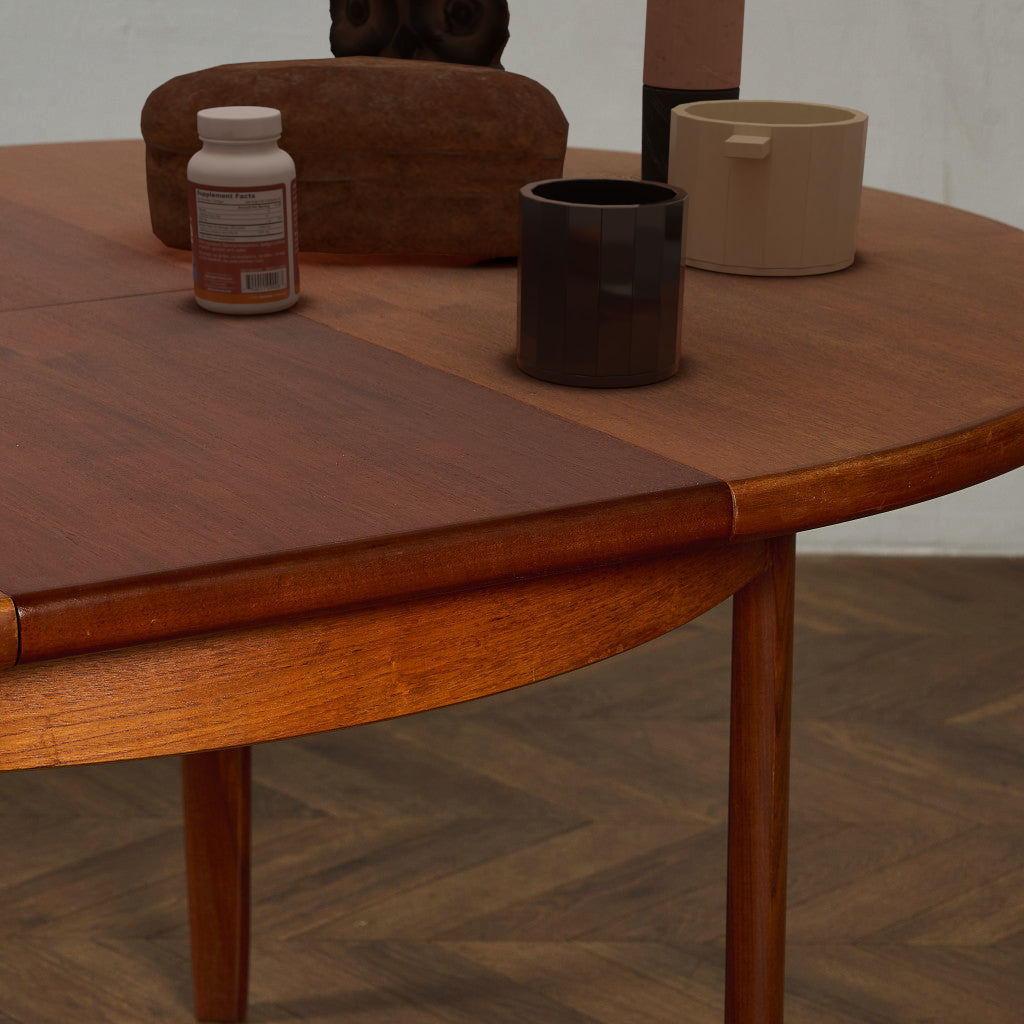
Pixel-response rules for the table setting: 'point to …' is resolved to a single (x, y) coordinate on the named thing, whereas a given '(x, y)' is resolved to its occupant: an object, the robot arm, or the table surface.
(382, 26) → the owl
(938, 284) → the table surface
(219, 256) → the pill bottle
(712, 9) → the travel mug
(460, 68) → the bread
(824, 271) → the pot
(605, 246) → the cup
